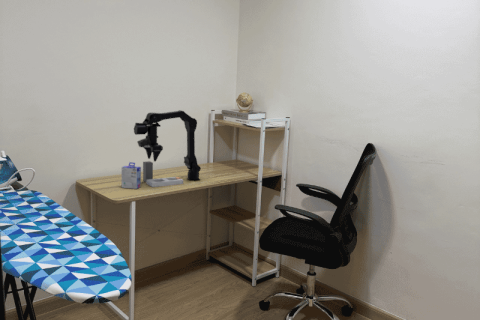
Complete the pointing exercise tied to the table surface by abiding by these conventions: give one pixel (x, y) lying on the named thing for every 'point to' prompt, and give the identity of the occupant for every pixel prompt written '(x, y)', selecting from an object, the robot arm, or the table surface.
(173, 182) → the power strip
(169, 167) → the table surface
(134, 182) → the ink cartridge box
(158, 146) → the robot arm
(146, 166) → the block
